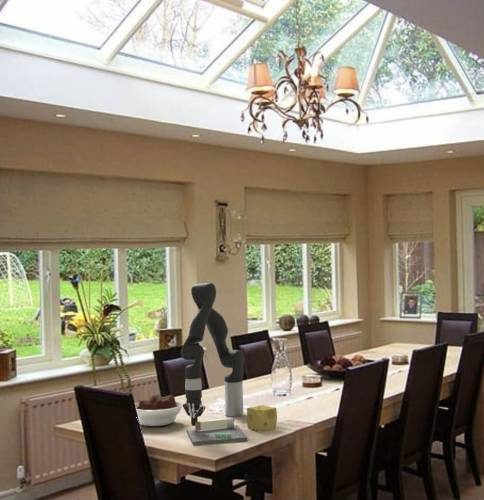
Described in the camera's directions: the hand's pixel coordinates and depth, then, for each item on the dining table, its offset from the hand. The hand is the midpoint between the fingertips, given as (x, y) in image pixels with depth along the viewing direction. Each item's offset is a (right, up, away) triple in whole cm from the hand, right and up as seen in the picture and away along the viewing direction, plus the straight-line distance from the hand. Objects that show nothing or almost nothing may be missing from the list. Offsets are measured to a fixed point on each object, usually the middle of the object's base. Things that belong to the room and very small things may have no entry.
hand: (194, 425), depth 331 cm
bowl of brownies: (-20, -5, +20) cm, 28 cm away
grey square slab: (+10, -3, -7) cm, 13 cm away
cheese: (+31, -3, +5) cm, 32 cm away
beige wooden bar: (+10, -1, 0) cm, 10 cm away
